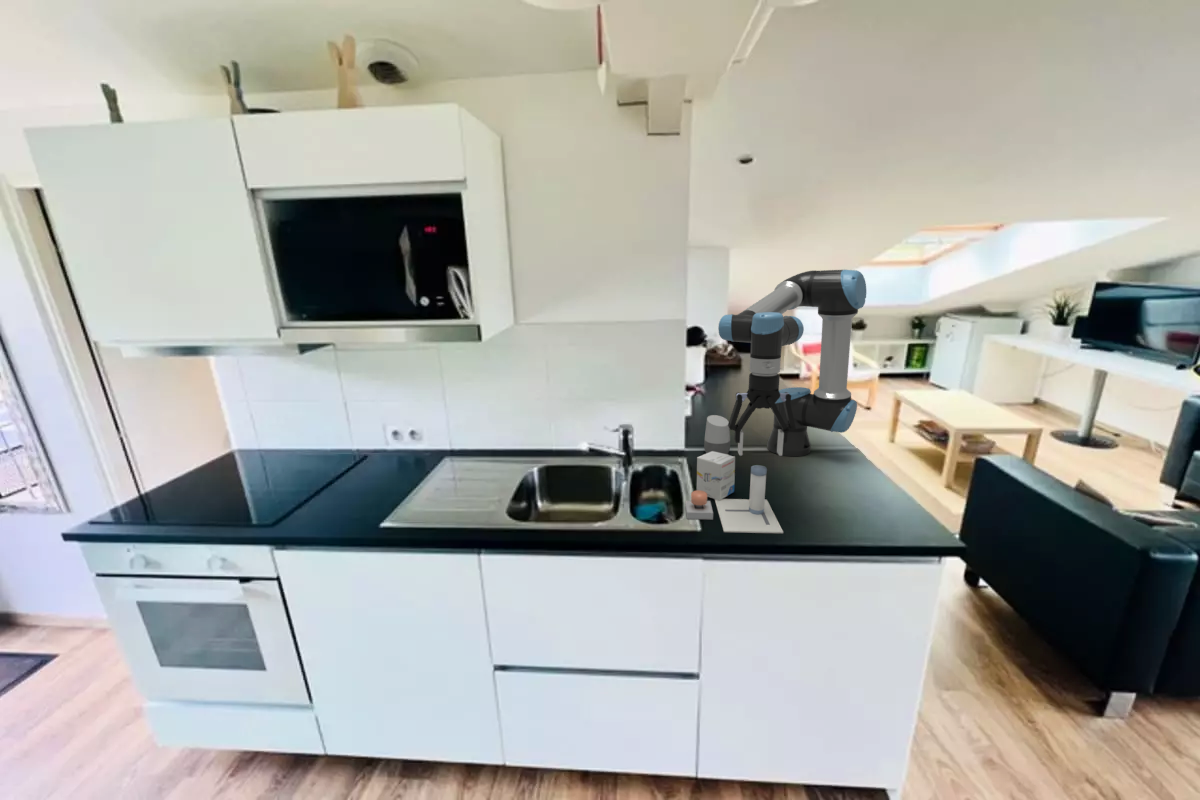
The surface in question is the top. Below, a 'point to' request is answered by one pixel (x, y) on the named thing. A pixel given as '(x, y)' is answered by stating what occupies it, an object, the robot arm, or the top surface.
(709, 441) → the smart speaker
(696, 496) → the button
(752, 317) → the robot arm
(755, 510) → the marker
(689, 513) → the button box
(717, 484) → the ink box
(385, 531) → the top surface
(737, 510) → the white flat board
